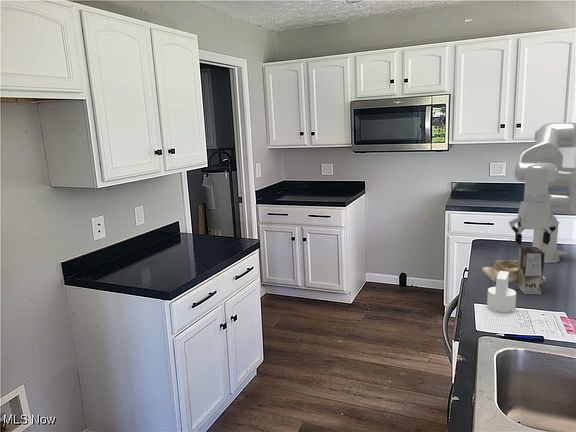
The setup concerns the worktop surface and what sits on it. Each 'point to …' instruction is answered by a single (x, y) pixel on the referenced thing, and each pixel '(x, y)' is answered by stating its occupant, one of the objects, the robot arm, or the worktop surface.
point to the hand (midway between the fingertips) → (532, 243)
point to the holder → (506, 266)
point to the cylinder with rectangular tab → (501, 294)
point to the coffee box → (530, 270)
